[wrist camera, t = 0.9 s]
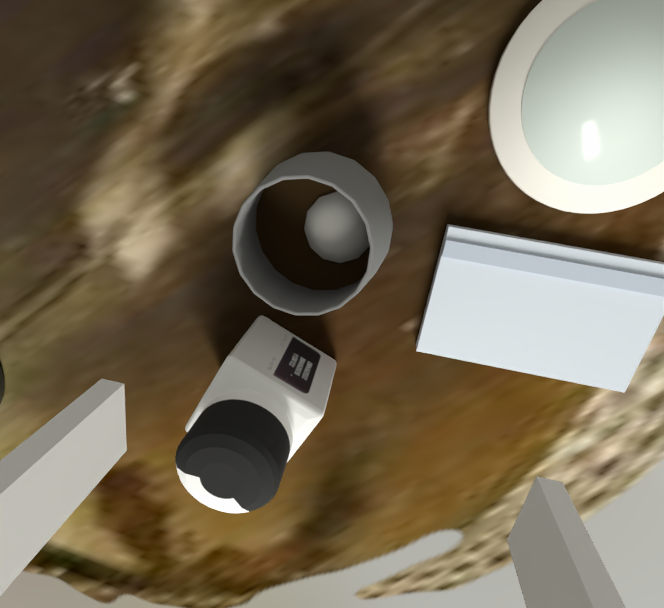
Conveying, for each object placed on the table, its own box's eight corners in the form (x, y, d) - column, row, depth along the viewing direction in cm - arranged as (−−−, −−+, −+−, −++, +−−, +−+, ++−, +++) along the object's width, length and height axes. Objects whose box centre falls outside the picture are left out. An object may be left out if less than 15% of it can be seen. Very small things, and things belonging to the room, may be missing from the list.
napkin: (415, 345, 33) (416, 352, 32) (447, 224, 30) (449, 227, 28) (617, 385, 32) (626, 394, 31) (677, 264, 28) (690, 269, 27)
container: (261, 312, 34) (190, 402, 22) (338, 360, 35) (311, 473, 23) (222, 376, 37) (140, 487, 25) (294, 420, 38) (248, 548, 26)
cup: (393, 147, 28) (393, 148, 19) (393, 276, 32) (393, 331, 22) (260, 154, 30) (200, 159, 20) (273, 278, 33) (227, 330, 24)
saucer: (451, 170, 28) (453, 171, 27) (559, -79, 23) (567, -90, 22) (642, 240, 28) (652, 244, 27) (796, 7, 23) (815, 0, 22)
